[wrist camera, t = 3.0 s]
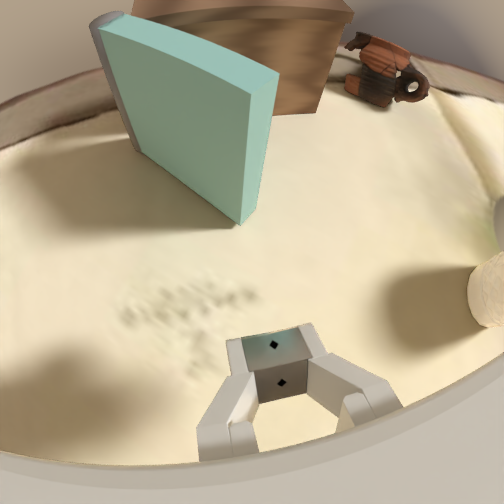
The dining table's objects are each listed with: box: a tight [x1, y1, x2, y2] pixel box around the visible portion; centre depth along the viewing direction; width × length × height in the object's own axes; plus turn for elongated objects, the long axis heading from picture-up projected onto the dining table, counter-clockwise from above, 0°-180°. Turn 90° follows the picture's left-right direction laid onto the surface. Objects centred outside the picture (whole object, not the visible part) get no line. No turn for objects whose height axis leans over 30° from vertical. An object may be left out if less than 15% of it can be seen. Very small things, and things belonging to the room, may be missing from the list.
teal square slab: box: [89, 11, 280, 226], centre depth 19 cm, size 14×2×14 cm, turn 52°
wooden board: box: [131, 0, 354, 116], centre depth 23 cm, size 17×5×13 cm, turn 102°
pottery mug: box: [344, 32, 430, 107], centre depth 30 cm, size 12×10×8 cm
